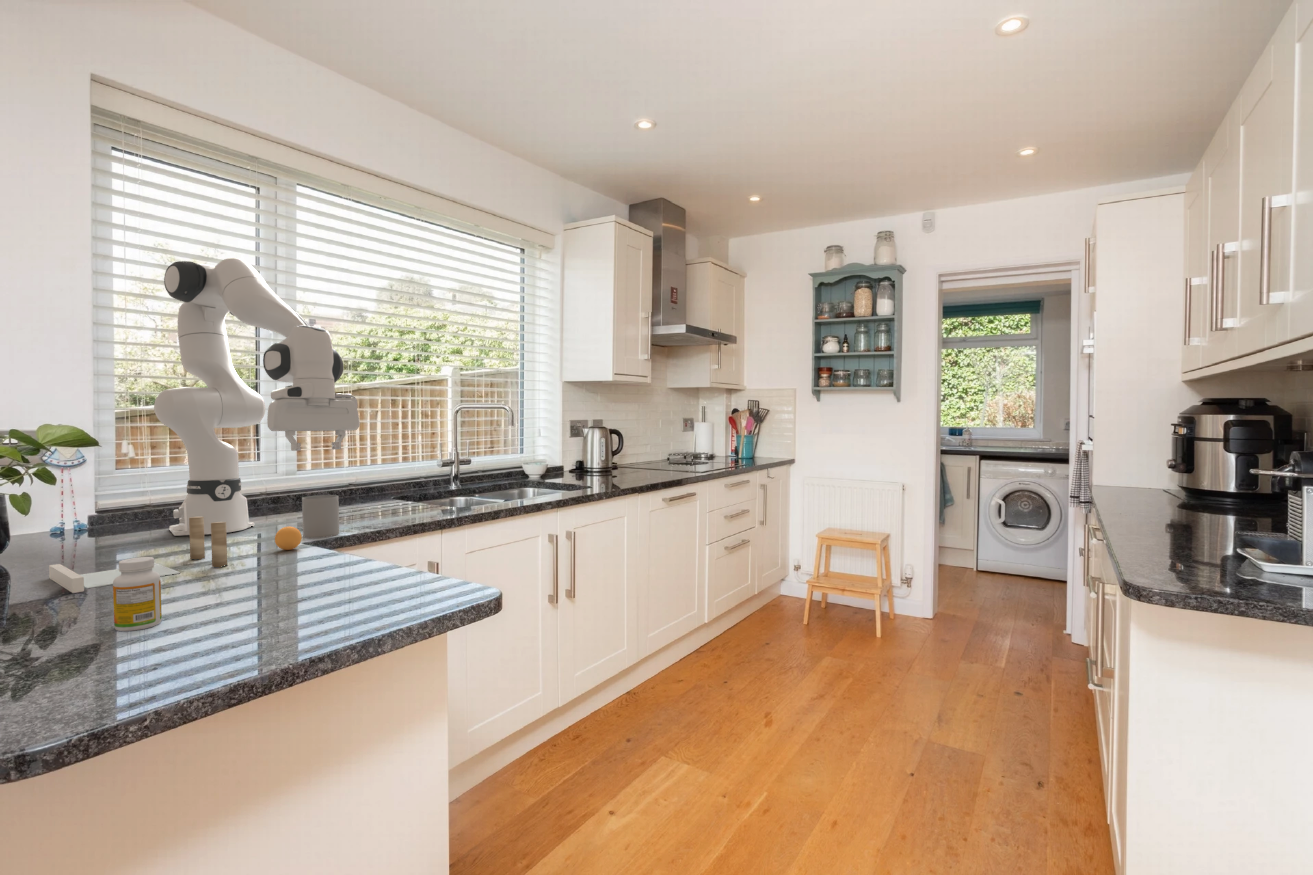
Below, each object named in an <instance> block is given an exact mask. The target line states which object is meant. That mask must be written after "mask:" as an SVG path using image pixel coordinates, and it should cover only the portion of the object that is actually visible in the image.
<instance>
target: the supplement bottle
mask: <svg viewBox="0 0 1313 875" xmlns="http://www.w3.org/2000/svg"><path fill="white" fill-rule="evenodd" d="M154 564H155V558H154V556H153V557H152V556H140V557H139V556H138V557H132V558H125V559H123V560H119V561H118V569H119V572H121V575H120V576H118V577H116V578H115V579H114V581H113V584H112V594H113V595H112V596H113V597H112V598H113V600H112V601H113V603H112V604H113V625H114V626H113V627H114V629H115V630H116V631H118V632H132V631H140V630H145V629H150V628H152V627H155V626H157V625H159V624H160V623H161V622H162V620H163V619H162V618H163V617H162V616H163V615H162V588H161V587H162V586H161V585H162V584H161V583H162V582H161V577H160V575H159V573H157V572H155V571H152V568H154Z"/></svg>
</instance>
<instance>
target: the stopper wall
mask: <svg viewBox="0 0 1313 875" xmlns="http://www.w3.org/2000/svg"><path fill="white" fill-rule="evenodd" d="M48 570H49V571H48V572H49V579H50V580H51V581H53V582H55V583H56V584H58V585H59V586H61V587H62V588H64V589H65V590H67V591H69V592H70V593H71V594H75V593H83V592H85V587H84V577H82V576H81V574H79V573H77V572H75V571H73V570H72V569H69V568H68V567H66V566H65V565H62V564H61V563H56V564H49V565H48Z"/></svg>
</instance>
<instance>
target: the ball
mask: <svg viewBox="0 0 1313 875" xmlns="http://www.w3.org/2000/svg"><path fill="white" fill-rule="evenodd" d="M302 539H303V534H302V533H301V531H300V529H298V528H296V527H294V526H288V525H287V526H284V527H281V528H280V529H279V530H277V532H276V533H275V536H274V542H275V545H276V546H277V547H278V548H279V549H280V550H283V551H284V550H285V551H291V550H294V549H296V548H297V547H299V545H300V544H301V542H302Z"/></svg>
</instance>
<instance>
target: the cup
mask: <svg viewBox="0 0 1313 875" xmlns="http://www.w3.org/2000/svg"><path fill="white" fill-rule="evenodd" d="M339 497H340V496H339V495H335V494H321V495H309V496H304V497H301V501H302V502H301V509H302V510H301V511H302V512H301V513H302V538H305V539H306V538H308V539H319V538H329V537H335V536H339V534H340V514H339V513H340V506H339V505H340V504H339V501H340V500H339Z"/></svg>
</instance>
